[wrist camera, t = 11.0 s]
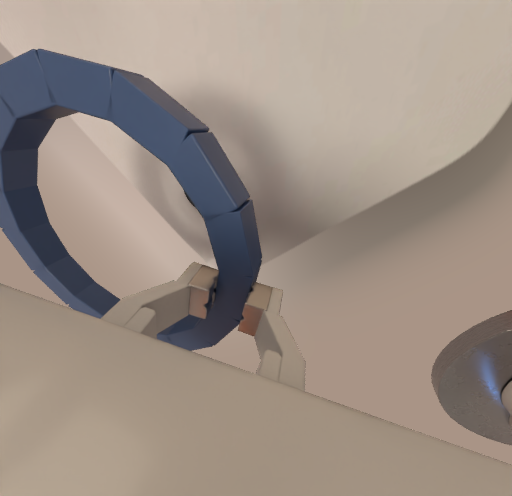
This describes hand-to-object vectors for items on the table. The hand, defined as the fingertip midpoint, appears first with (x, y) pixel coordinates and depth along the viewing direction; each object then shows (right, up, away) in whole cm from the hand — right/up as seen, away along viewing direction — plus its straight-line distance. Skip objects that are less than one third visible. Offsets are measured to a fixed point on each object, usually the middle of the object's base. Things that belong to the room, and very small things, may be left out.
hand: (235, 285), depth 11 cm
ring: (-6, +3, +2) cm, 7 cm away
